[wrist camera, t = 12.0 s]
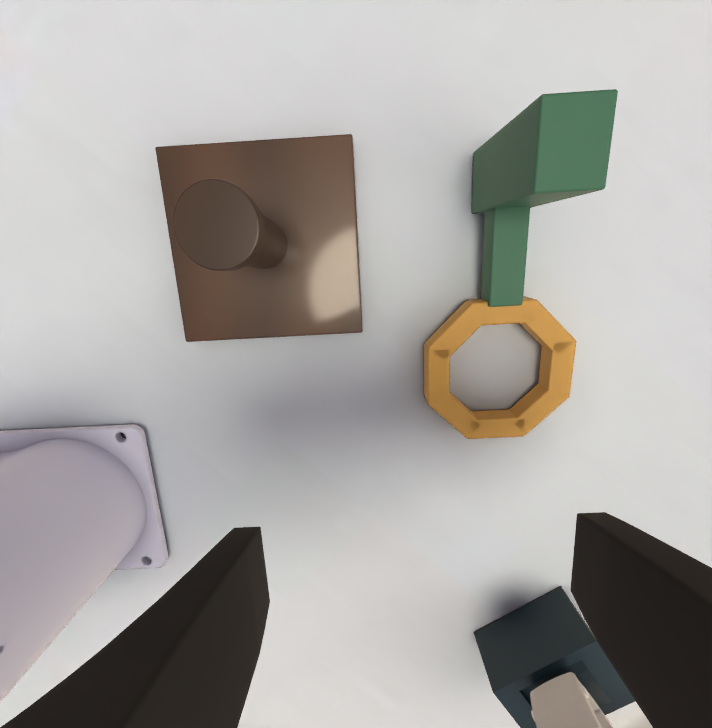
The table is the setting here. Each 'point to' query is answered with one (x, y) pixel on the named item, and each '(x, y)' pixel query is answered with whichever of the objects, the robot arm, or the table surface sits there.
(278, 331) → the peg stand
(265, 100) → the table surface
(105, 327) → the table surface
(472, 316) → the octagonal ring with handle
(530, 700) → the bust statue
